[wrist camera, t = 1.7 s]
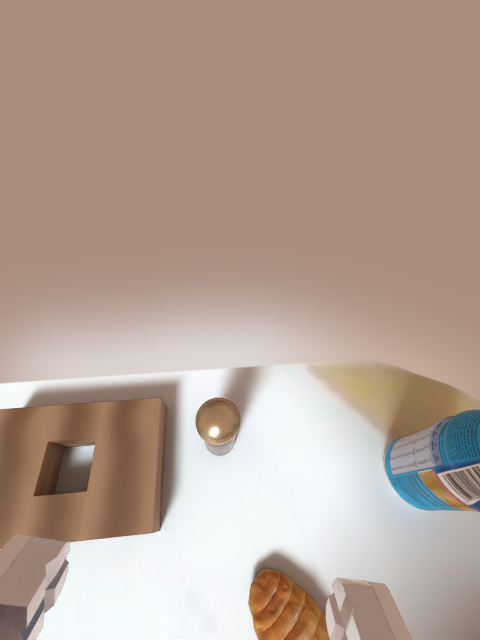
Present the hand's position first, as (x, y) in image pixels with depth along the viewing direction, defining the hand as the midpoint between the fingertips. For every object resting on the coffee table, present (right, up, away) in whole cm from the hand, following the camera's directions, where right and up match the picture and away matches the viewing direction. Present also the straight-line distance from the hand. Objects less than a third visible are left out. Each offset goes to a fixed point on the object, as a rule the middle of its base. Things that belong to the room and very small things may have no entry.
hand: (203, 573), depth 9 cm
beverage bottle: (+24, -12, +28) cm, 38 cm away
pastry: (+6, -23, +20) cm, 31 cm away
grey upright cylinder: (-1, -8, +29) cm, 30 cm away
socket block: (-19, -11, +27) cm, 34 cm away
